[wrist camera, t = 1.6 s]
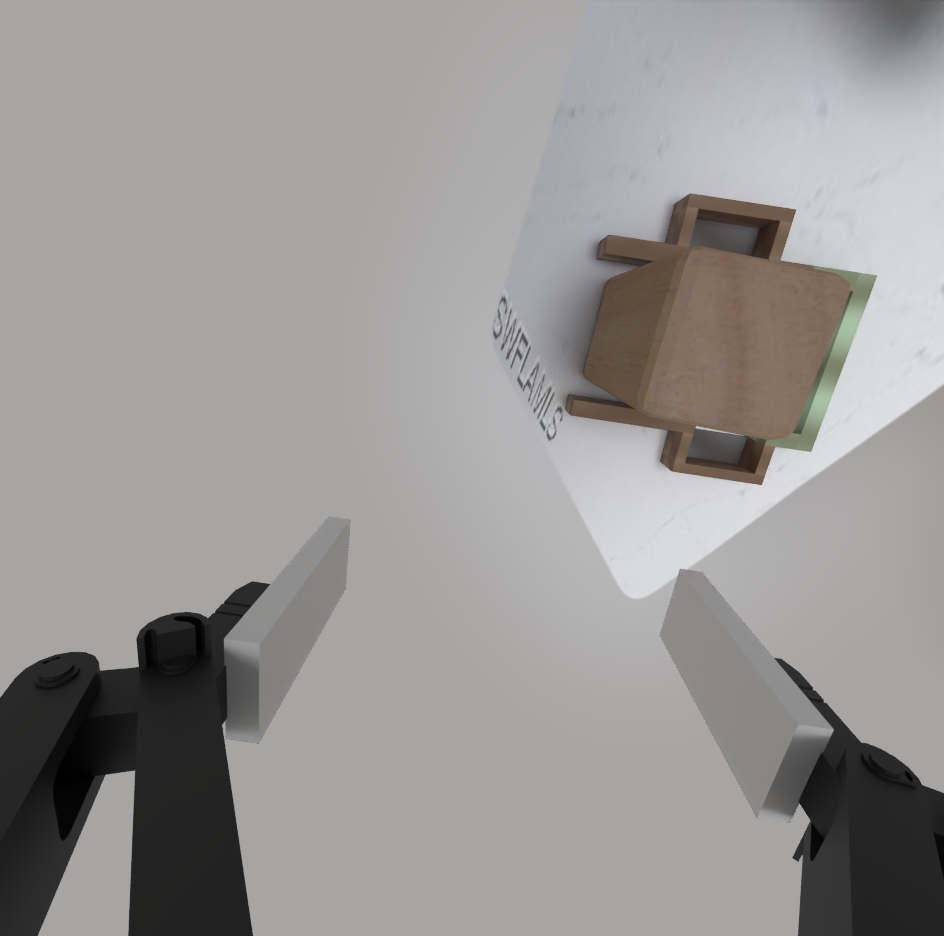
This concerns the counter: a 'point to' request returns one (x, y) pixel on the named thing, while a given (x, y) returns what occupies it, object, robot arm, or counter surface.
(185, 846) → the robot arm
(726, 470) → the trap lane
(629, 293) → the block
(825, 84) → the counter surface
